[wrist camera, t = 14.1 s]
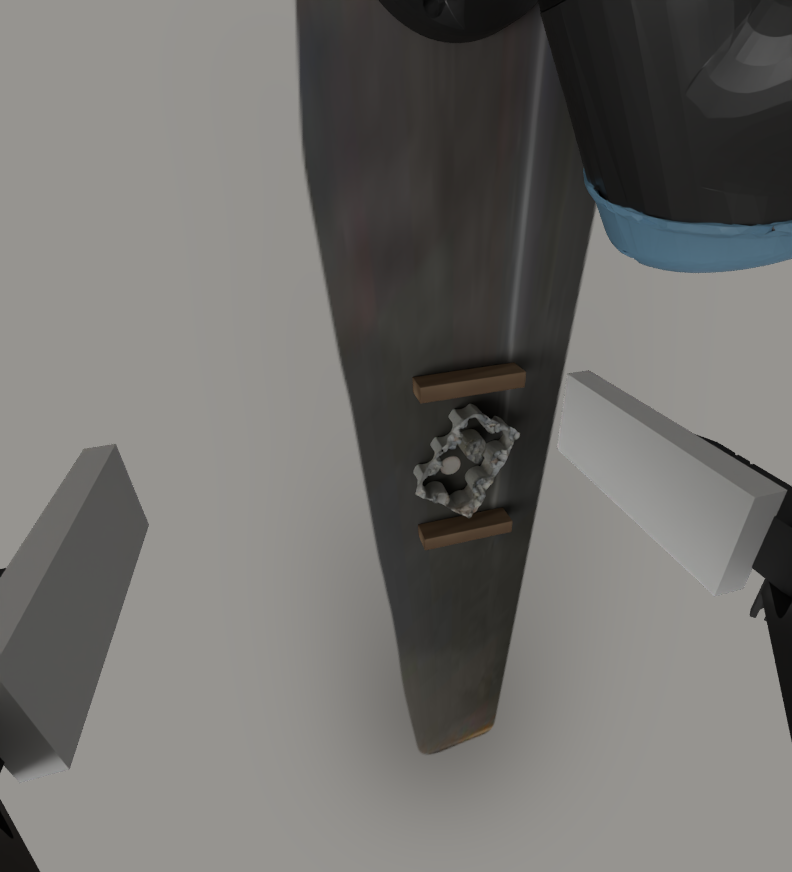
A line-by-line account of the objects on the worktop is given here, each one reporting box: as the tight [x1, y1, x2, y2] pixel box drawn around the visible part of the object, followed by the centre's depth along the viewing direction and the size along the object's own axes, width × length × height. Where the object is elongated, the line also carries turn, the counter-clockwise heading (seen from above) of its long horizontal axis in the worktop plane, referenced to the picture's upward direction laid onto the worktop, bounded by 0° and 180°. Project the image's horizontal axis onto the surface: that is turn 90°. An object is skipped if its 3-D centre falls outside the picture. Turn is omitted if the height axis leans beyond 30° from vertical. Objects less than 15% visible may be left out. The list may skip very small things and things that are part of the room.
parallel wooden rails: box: [413, 362, 526, 550], centre depth 48 cm, size 19×10×2 cm, turn 3°
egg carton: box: [413, 404, 520, 519], centre depth 47 cm, size 11×8×4 cm
